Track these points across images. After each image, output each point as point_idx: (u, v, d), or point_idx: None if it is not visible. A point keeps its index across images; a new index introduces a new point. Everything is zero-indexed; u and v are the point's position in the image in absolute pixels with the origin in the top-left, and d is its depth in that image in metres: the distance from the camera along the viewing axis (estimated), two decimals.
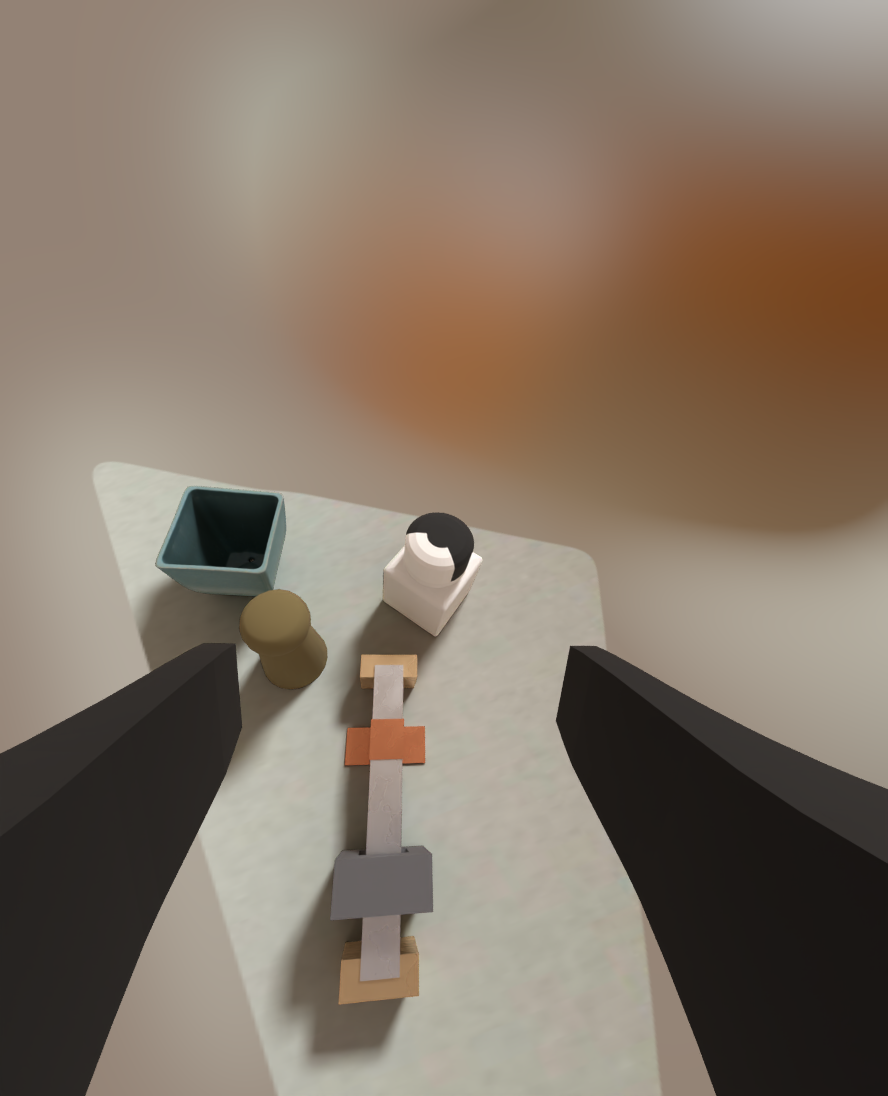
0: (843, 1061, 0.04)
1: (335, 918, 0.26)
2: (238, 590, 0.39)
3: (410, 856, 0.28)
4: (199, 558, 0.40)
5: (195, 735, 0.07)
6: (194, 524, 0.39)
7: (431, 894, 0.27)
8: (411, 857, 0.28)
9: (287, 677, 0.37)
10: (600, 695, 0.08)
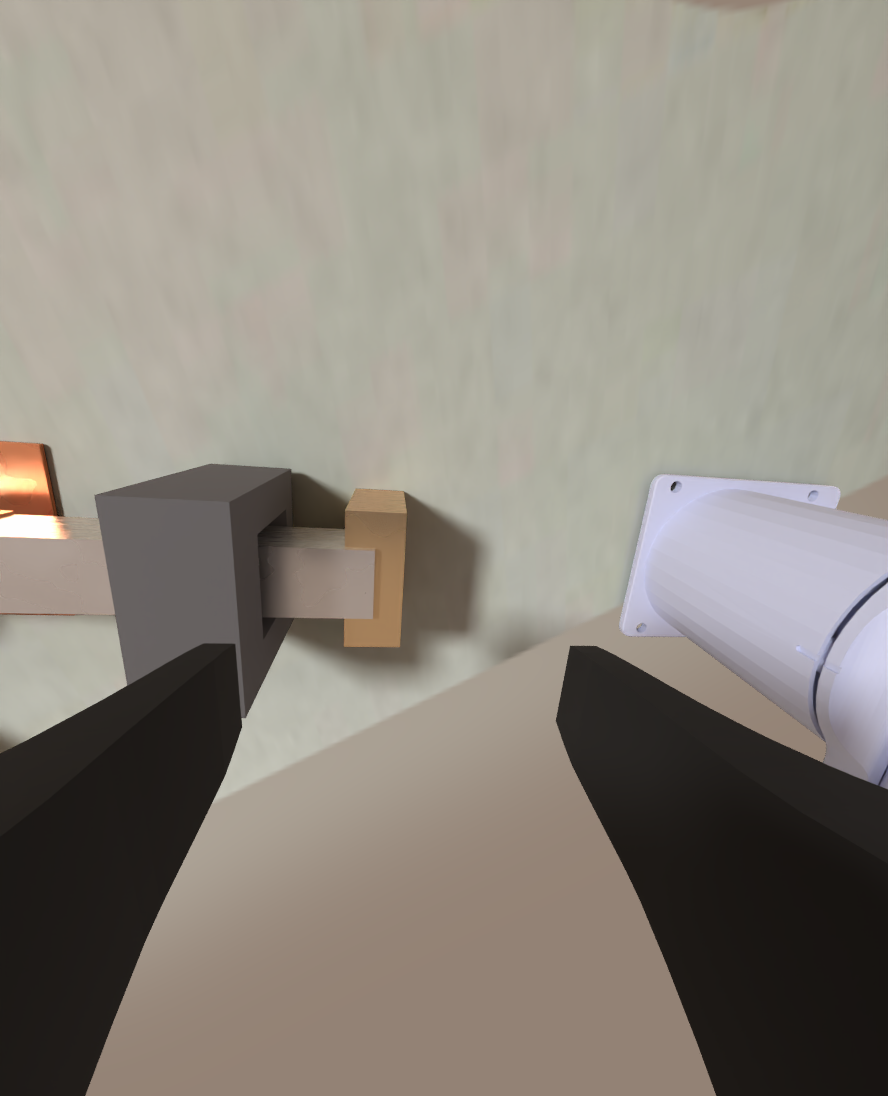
0: (843, 1061, 0.04)
1: (242, 708, 0.12)
2: None
3: (107, 553, 0.10)
4: None
5: (195, 735, 0.07)
6: None
7: (191, 503, 0.10)
8: (110, 550, 0.10)
9: None
10: (600, 695, 0.08)
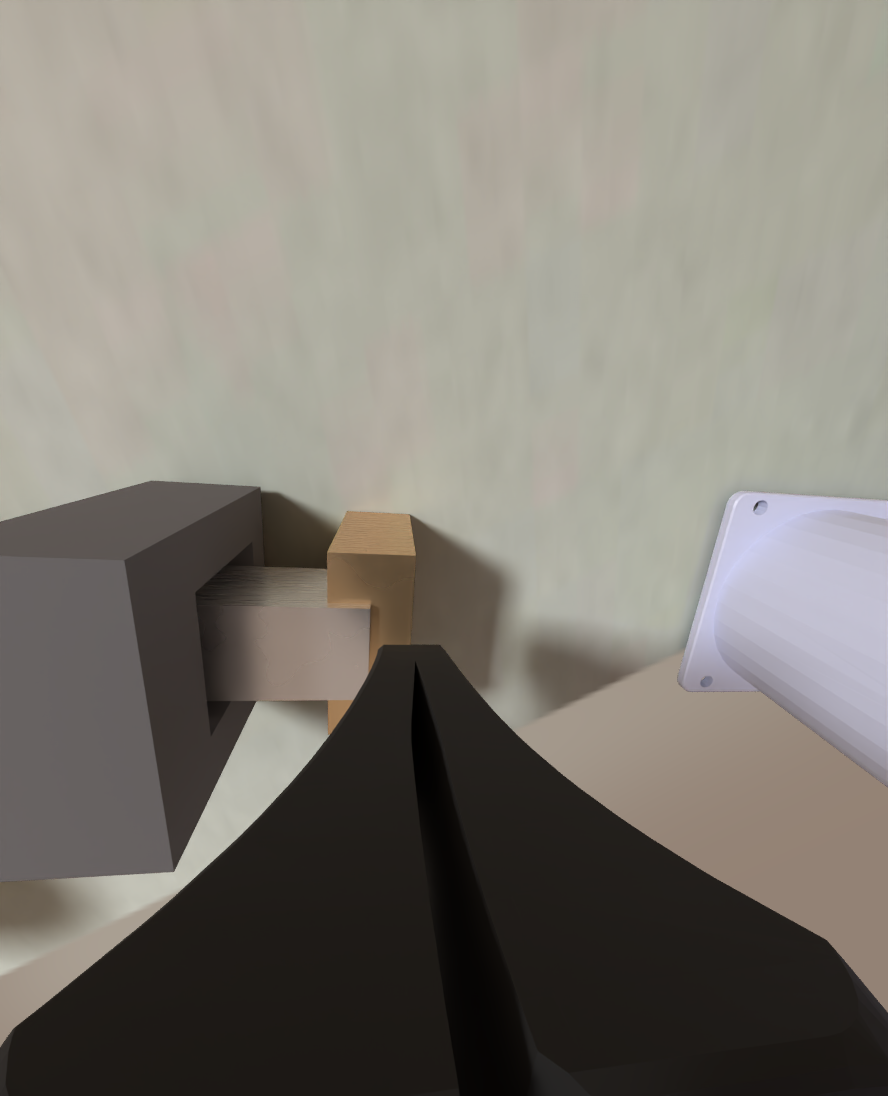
0: None
1: (168, 859, 0.08)
2: None
3: None
4: None
5: None
6: None
7: (59, 563, 0.06)
8: None
9: None
10: (417, 697, 0.07)
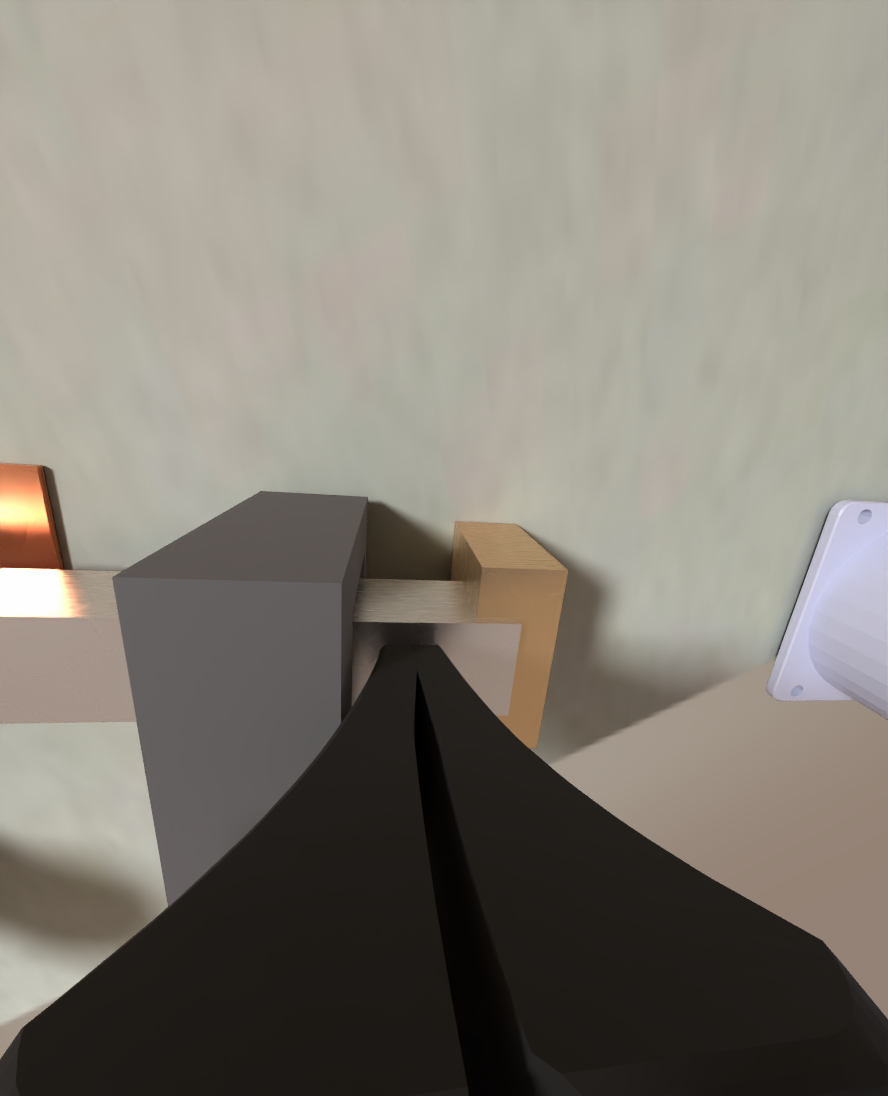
0: None
1: None
2: None
3: (133, 670, 0.06)
4: None
5: None
6: None
7: (278, 587, 0.06)
8: (137, 666, 0.06)
9: None
10: (415, 697, 0.07)
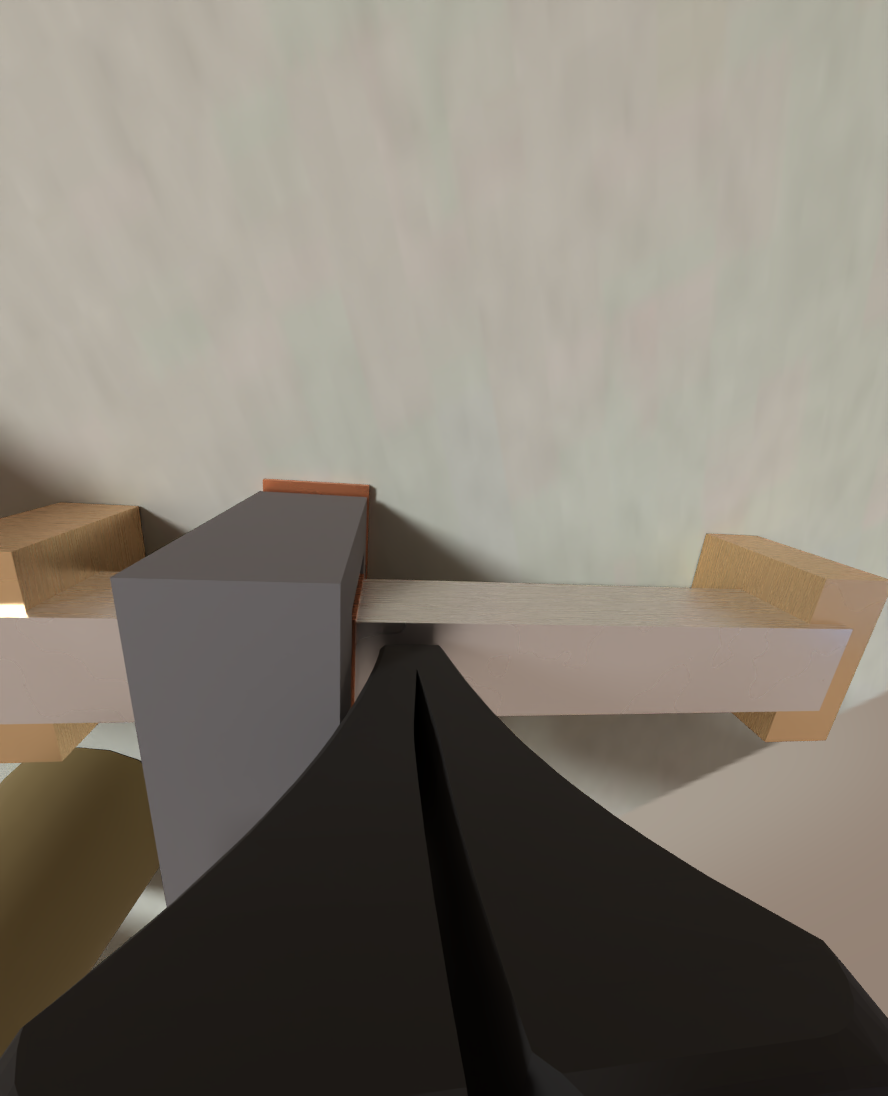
0: None
1: None
2: None
3: (131, 671, 0.06)
4: None
5: None
6: None
7: (276, 587, 0.06)
8: (135, 667, 0.06)
9: (124, 894, 0.13)
10: (415, 697, 0.07)
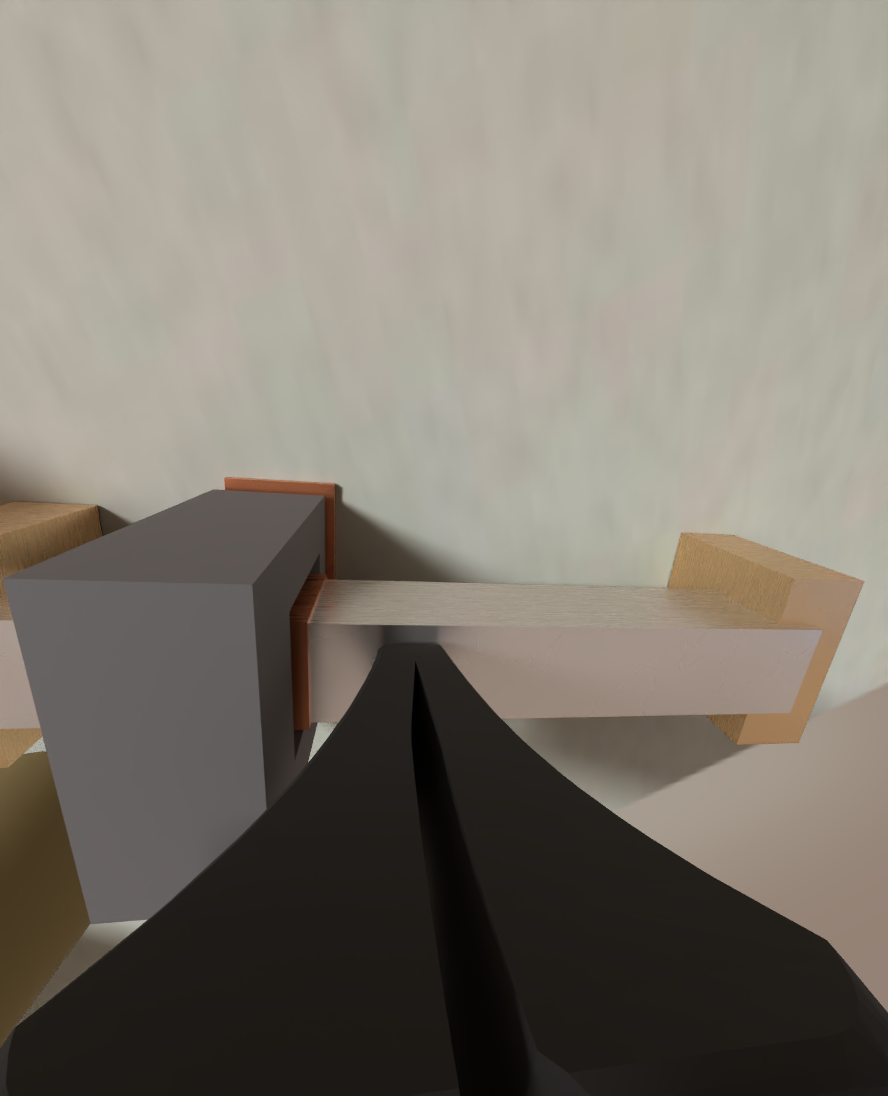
0: None
1: None
2: None
3: (33, 676, 0.06)
4: None
5: None
6: None
7: (183, 588, 0.06)
8: (37, 672, 0.06)
9: None
10: (417, 697, 0.07)
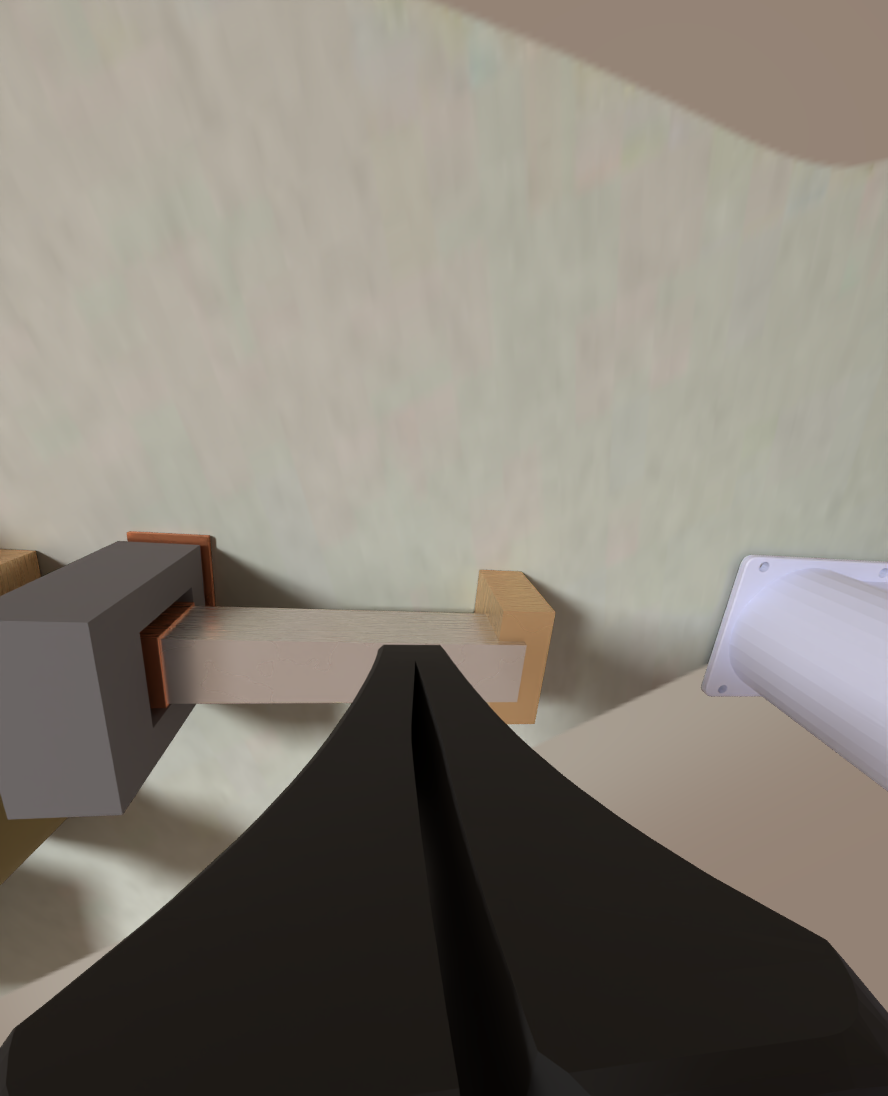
0: None
1: (118, 806, 0.12)
2: None
3: None
4: None
5: None
6: None
7: (49, 624, 0.10)
8: None
9: (25, 834, 0.17)
10: (417, 697, 0.07)
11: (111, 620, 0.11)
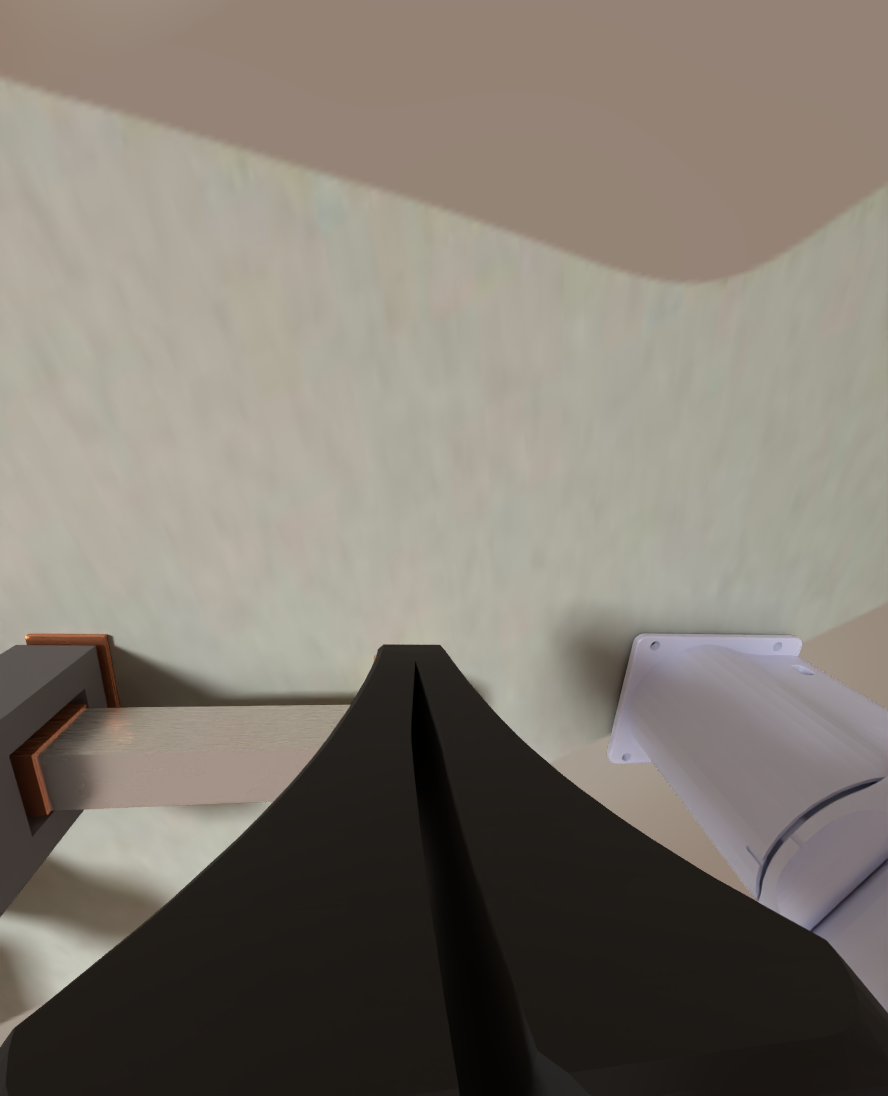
0: None
1: None
2: None
3: None
4: None
5: None
6: None
7: None
8: None
9: None
10: (417, 697, 0.07)
11: None
